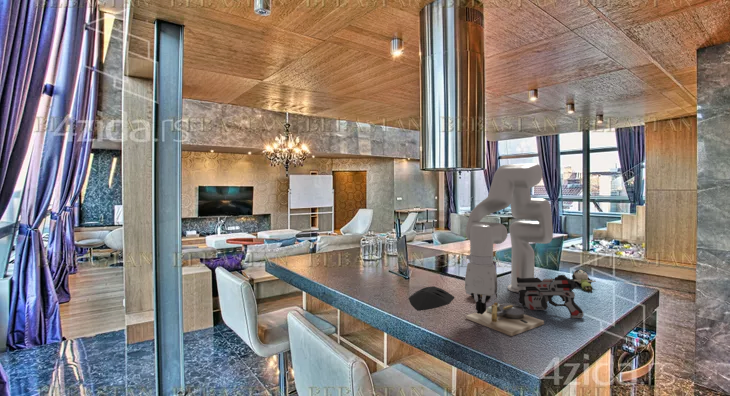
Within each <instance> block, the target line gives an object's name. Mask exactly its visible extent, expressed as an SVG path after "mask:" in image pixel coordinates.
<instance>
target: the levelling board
mask: <svg viewBox="0 0 730 396" xmlns="http://www.w3.org/2000/svg"><path fill="white" fill-rule="evenodd" d="M500 304H501V303H498V302H494V303H493V305H497V312H499V305H500ZM465 316H466V320H469V321H472V322H474V323H477V324H479V325H482V326H484V327H487V328H490V329H492V330H495V331H498V332H500V333H501V334H505V335H507V336H510V337H513V336H516V335H518V334H521V333H524V332H527V331H530V330H532V329H535V328H537V327H540V326H543V325H545V320H543V319H539V318H536V317H534V316H530V315H528V314H525V313H524V317H523V318H521V319H510V318H506V317H503V316H499V317H497V321H492V305H491V306H486V311H485V312H484V313H483V314H480V313H479V314H478V313H477V311H476V312H473V313H470V314H466V315H465Z"/></svg>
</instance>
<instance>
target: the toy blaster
mask: <svg viewBox="0 0 730 396" xmlns="http://www.w3.org/2000/svg"><path fill="white" fill-rule="evenodd" d="M517 283H518V284H517V287H525V288H526V290H520V291H519V293H518V295H519V296H518V303H519V305H520V304H521V306H522V307H526V308H527V309H528V310H530V311H531V310H532V311H534V310H535V311H536V310H537V311H546V310H547V309H548V308H549V307H548V306H549V305H548V304H550V305H552V306H553V307H566V309H567V310H568V312H569V316H570V318H571V319H582V318H584V316H585V315H584V311H583V309H582V308H581V307H580V306H579V305H578V304H576V301H575V297H576V293H575V292H574V291H573V290H575V288H578V287H579V286H577V284H575V281H574V280H573V279H572V278H569V277H568V276H566V275H565V274H559V275H557V276H556V277H554V278H543V279H540V278H539V277H534V278H519V277H517ZM554 296H556V297H557V296H559V297H560V299H561V301H562V302H563V304H561V303H556V302H555V301H553V297H554Z"/></svg>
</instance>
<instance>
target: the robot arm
mask: <svg viewBox="0 0 730 396" xmlns="http://www.w3.org/2000/svg"><path fill="white" fill-rule="evenodd" d="M542 178H543V168H542V166H541V165H540V164H538V163H515V164H514V163H511V164H509V163H508V164H504V165H500V166H499V167H498V168H497V169H496V170H495V172H494V175H493V177H492V180H491V184H490V187H489V191H488V195H487V197H486V198H484V199H483V200H482V201H481V202H479V203H478V204H477V205H475V206H474V208H473V209H472V210H471V212H470V214H469V215H468V216H469V217H468V219H467V223H466V225H465V236H466V238H467V239H468V240H469V241H470V245H469V251H470V252H469V255H466V257H465V258H466V260H468V261H469V262H468V263H467V265H466V271H465V276H464V290H465V293H466V294H467V295H469V296H471V297H472V298H473V300H474V301H475V310H476V312H477V313H478V314H479V313H480V314H483V313H484V312H485V311H486V310H487V301H489V300H494V299H495V300H497V298H498V293H497V292H498V278H497V277H498V276H497V270H496V265H495V264H494V245H500V244H502V243H504V242H505V241H506V239H507V238H508V228H507V227H506V226H505V225H504V224H503V223H499V222H489V221H482V220H483V218H485V217H487V216H488V215H491V214H493V213H496V212H499V211H501V210H504V209H507V208H508V207H510V211H511V215H512V217H513V218H514V219H516V220H515V221H513V222H512V223H511V224H510V225H509V236H510V243H511V264H510V265H511V268H510V269H511V274H510V275H511V280H510V282H511V283H510V284H509V285H507V289H508V291H510V292H513V293H518V294H519V291H520V290H526V288H525V287H517V284H518V283H517V277H519V278H535V258H536V257H535V255H536V254H535V250H534V249H533V246H532V245H531V243H534V244H542V245H543V244H550V243H551V242H552V240H553V237H554V236H553V235H554V232H553V230H554V227H553V215H552V207H551V203H550V202H549V200H547V199H545V198H539V197H537V198H536V197H535V198H533V197H532V196H531V189H532V188H533V187H536V186H537V185H539V184H540V183H541V181H542ZM480 294H481V295H482V297H480Z"/></svg>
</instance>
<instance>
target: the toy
mask: <svg viewBox="0 0 730 396" xmlns="http://www.w3.org/2000/svg"><path fill="white" fill-rule="evenodd" d="M571 275H572V276H571V279H573V280H574V281H575V284H577V286H578V287H581V288H582V289H583V290H584V291H585V292H586V291H587V292H592V291H593V289H594V288H593V285H592V283H593V282H594V283H597V282H596V280H593V279H590V277H589V275H588V273H587V271H586V270H584V269H576V270H574V272H573V273H572V274H571Z"/></svg>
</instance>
